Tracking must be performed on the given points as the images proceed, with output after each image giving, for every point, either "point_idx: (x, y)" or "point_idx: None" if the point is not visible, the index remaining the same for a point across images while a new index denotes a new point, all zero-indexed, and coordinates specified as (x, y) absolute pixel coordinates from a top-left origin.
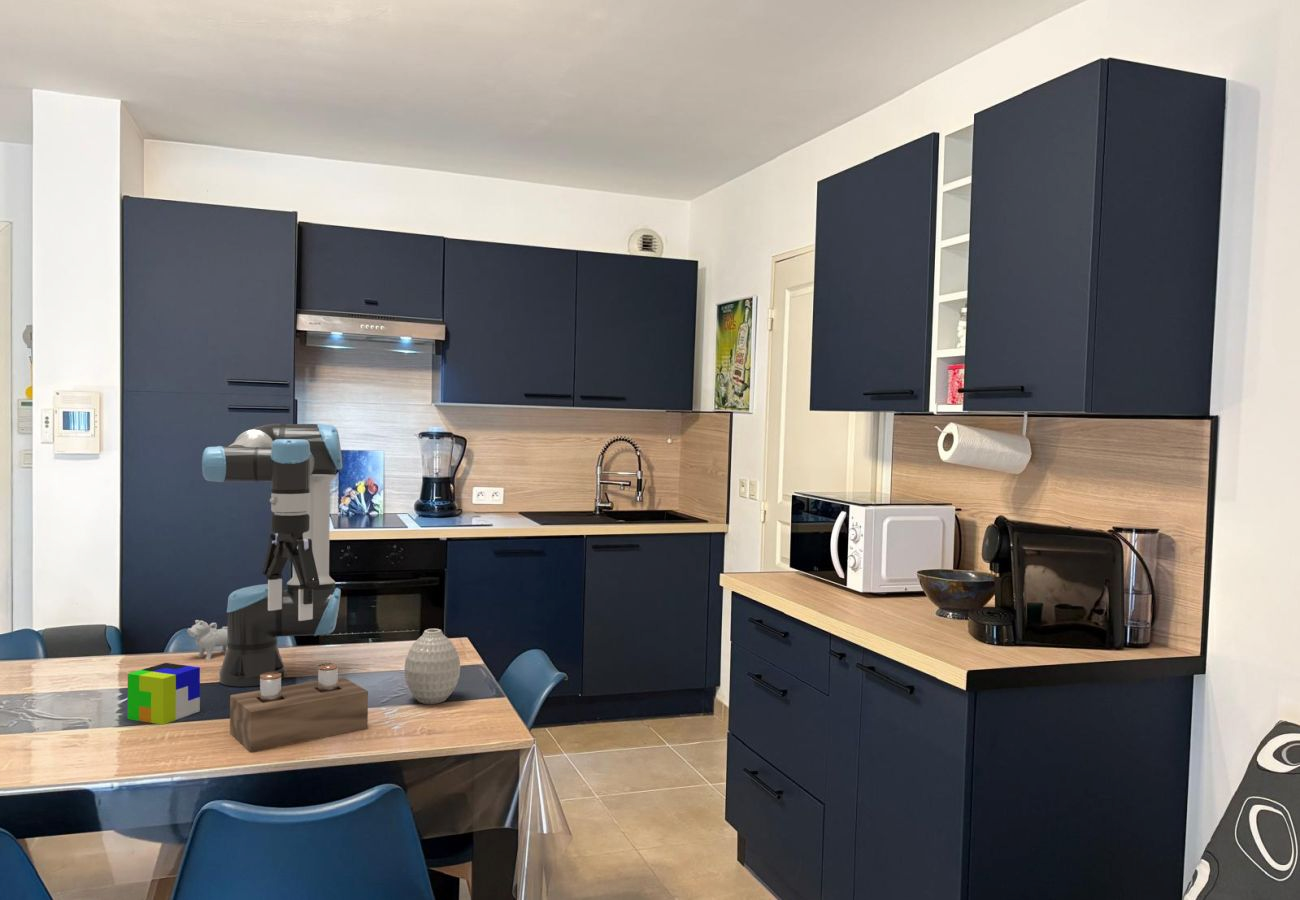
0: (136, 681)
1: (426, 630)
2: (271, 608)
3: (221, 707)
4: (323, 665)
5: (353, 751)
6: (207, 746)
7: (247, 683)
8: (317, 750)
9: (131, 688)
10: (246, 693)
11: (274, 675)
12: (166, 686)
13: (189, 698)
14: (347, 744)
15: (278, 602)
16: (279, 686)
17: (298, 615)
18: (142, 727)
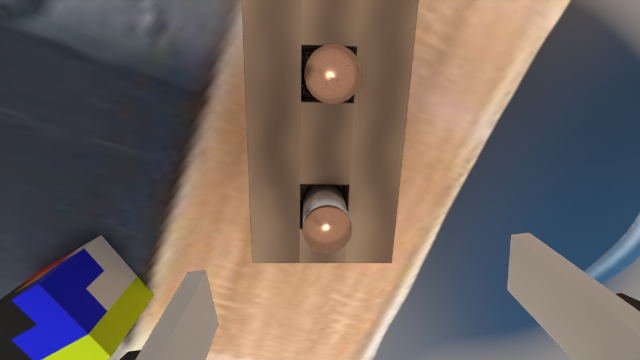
0: None
1: None
2: (213, 321)
3: (95, 199)
4: (326, 87)
5: (489, 95)
6: (306, 268)
7: None
8: (440, 143)
9: None
10: (258, 235)
11: (344, 227)
12: (115, 337)
13: (99, 270)
14: (450, 89)
15: (197, 308)
16: (344, 205)
17: (522, 304)
18: (153, 319)
